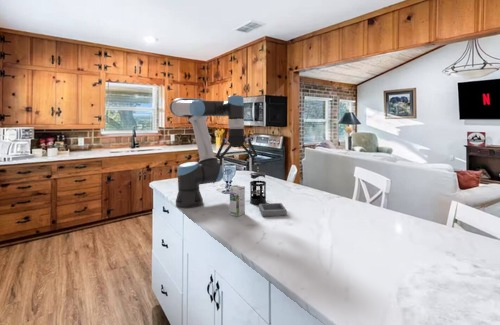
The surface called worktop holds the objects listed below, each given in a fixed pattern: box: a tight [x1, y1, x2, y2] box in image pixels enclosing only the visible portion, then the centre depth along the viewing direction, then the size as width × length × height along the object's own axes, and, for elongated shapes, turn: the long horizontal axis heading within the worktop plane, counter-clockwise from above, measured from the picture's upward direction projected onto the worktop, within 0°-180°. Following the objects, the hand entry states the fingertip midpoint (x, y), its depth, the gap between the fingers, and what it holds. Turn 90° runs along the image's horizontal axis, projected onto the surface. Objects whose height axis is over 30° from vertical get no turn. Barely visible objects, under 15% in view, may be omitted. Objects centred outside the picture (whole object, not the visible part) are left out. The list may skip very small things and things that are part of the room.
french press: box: [249, 162, 267, 206], centre depth 163 cm, size 12×9×23 cm
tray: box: [258, 202, 288, 218], centre depth 147 cm, size 12×12×3 cm
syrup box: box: [229, 184, 246, 217], centre depth 144 cm, size 6×6×14 cm
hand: (236, 171), depth 142 cm, fingers open, 13 cm apart
